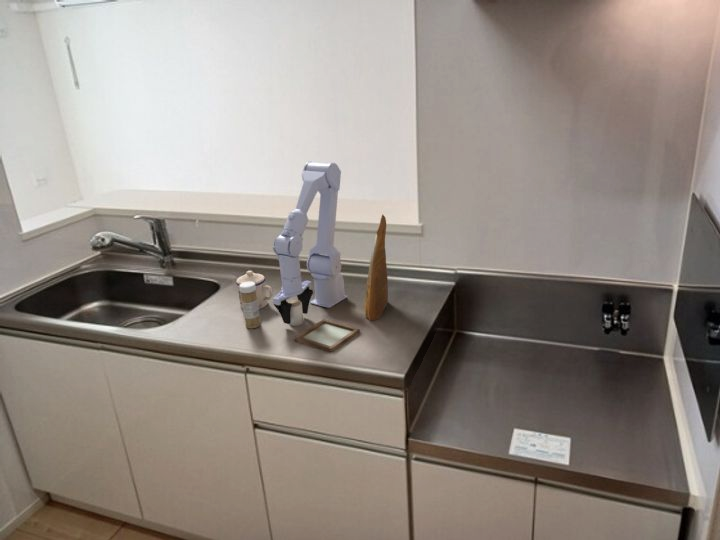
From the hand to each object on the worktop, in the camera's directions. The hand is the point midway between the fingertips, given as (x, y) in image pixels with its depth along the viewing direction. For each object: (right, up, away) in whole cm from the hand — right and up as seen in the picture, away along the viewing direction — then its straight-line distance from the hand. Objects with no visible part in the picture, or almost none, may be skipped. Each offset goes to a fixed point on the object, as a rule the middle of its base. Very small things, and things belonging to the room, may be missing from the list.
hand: (295, 317), depth 169 cm
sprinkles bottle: (-13, -3, 0) cm, 13 cm away
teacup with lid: (-14, +3, +14) cm, 19 cm away
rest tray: (+10, -5, -9) cm, 14 cm away
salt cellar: (0, -1, +1) cm, 2 cm away
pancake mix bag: (+25, +2, +5) cm, 26 cm away
